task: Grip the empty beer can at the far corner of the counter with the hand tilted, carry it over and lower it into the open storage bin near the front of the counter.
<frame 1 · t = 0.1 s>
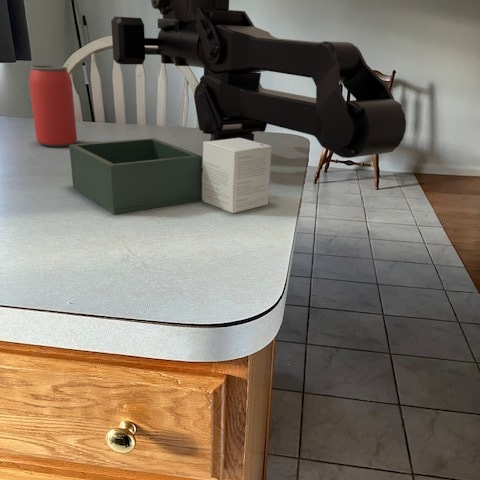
hand: (145, 39, 90), 17 cm above the table, tool horizontal, fingers open, 9 cm apart
open storage bin: (136, 194, 69), on the table
product box: (234, 205, 68), on the table
beer can: (57, 144, 93), on the table
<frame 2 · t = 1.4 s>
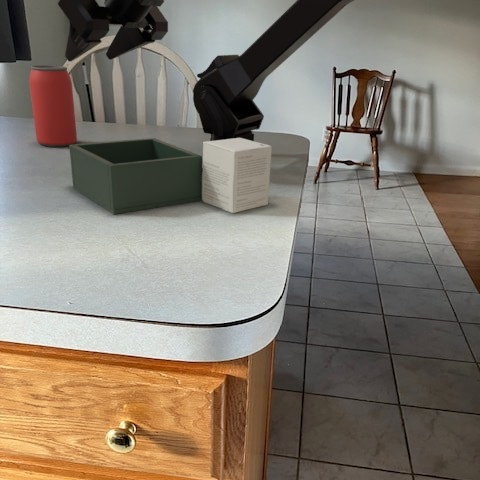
hand: (88, 57, 83), 14 cm above the table, tool tilted 45°, fingers open, 9 cm apart
nothing on the table moved.
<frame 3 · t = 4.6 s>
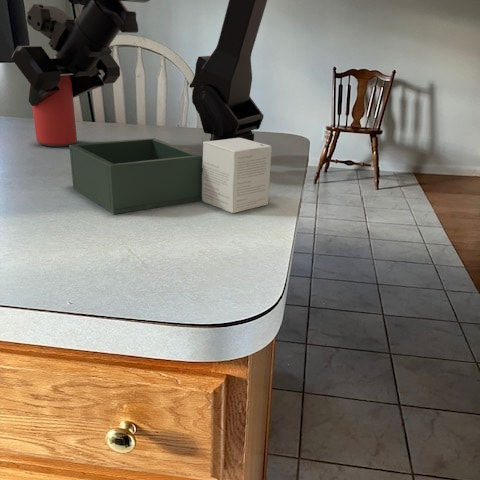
hand: (46, 101, 90), 7 cm above the table, tool tilted 45°, fingers closed on beer can, 6 cm apart
beer can: (57, 144, 93), on the table, touching gripper
everything else where it was.
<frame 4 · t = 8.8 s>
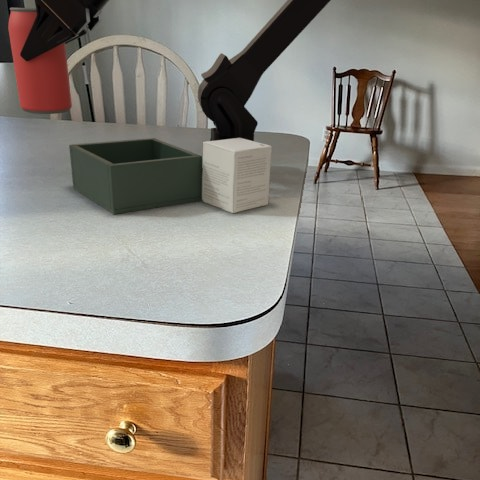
hand: (29, 56, 70), 15 cm above the table, tool tilted 45°, fingers closed on beer can, 6 cm apart
beer can: (47, 112, 73), point 8 cm above the table, touching gripper
everything else where it was.
when the fingers open (7 cm above the table, at t = 13.4 s): beer can stays where it is, resting on open storage bin.
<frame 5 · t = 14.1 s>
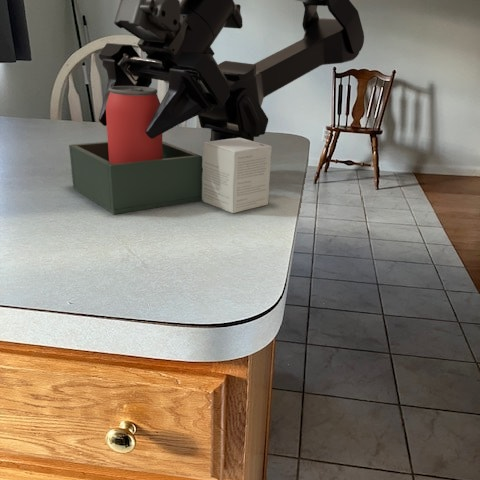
hand: (124, 129, 64), 8 cm above the table, tool tilted 45°, fingers open, 9 cm apart
beer can: (137, 191, 69), resting on open storage bin
everything else where it was.
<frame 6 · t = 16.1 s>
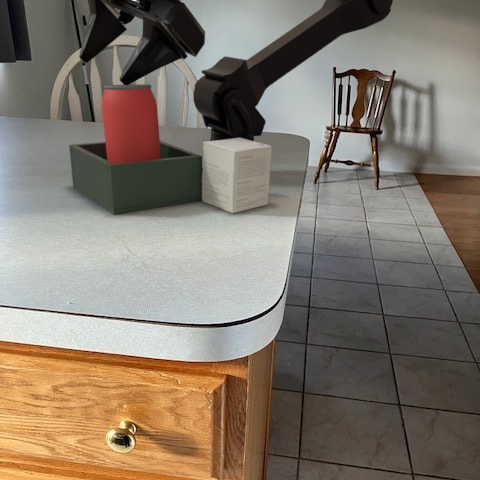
hand: (101, 71, 65), 14 cm above the table, tool tilted 40°, fingers open, 9 cm apart
beer can: (137, 189, 69), point 1 cm above the table, touching gripper, open storage bin
everything else where it was.
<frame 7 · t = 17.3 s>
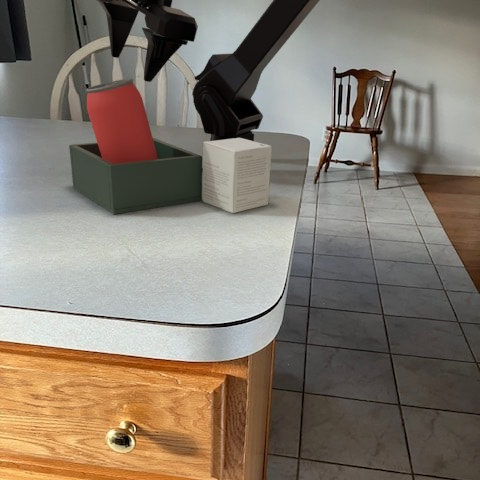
hand: (130, 68, 80), 13 cm above the table, tool tilted 15°, fingers open, 9 cm apart
beer can: (138, 186, 68), point 1 cm above the table, touching open storage bin
everything else where it was.
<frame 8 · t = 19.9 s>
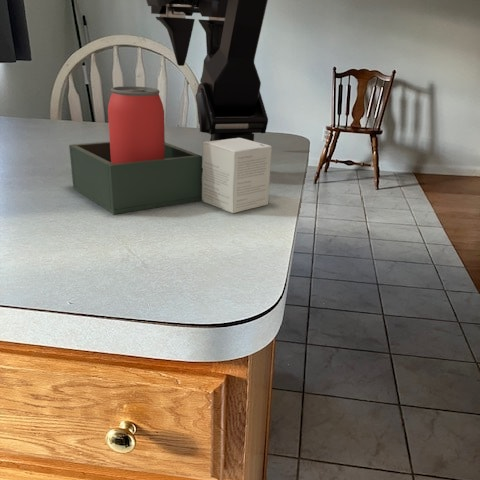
hand: (195, 68, 87), 13 cm above the table, tool pointing down, fingers open, 9 cm apart
at the end: beer can inside the target area in the open storage bin (0.5 cm from its centre), point 0.3 cm above the open storage bin's base; the gripper is holding nothing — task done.
